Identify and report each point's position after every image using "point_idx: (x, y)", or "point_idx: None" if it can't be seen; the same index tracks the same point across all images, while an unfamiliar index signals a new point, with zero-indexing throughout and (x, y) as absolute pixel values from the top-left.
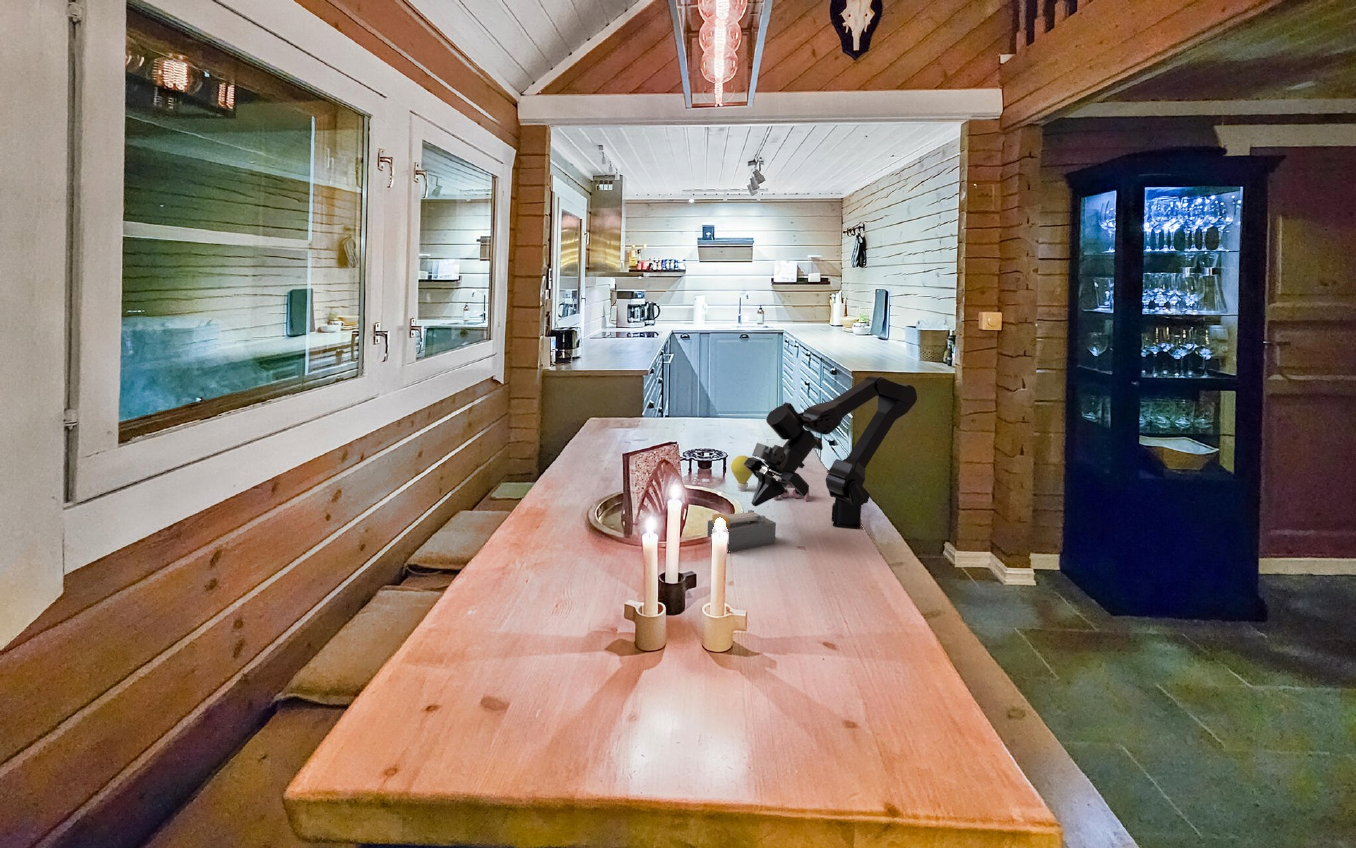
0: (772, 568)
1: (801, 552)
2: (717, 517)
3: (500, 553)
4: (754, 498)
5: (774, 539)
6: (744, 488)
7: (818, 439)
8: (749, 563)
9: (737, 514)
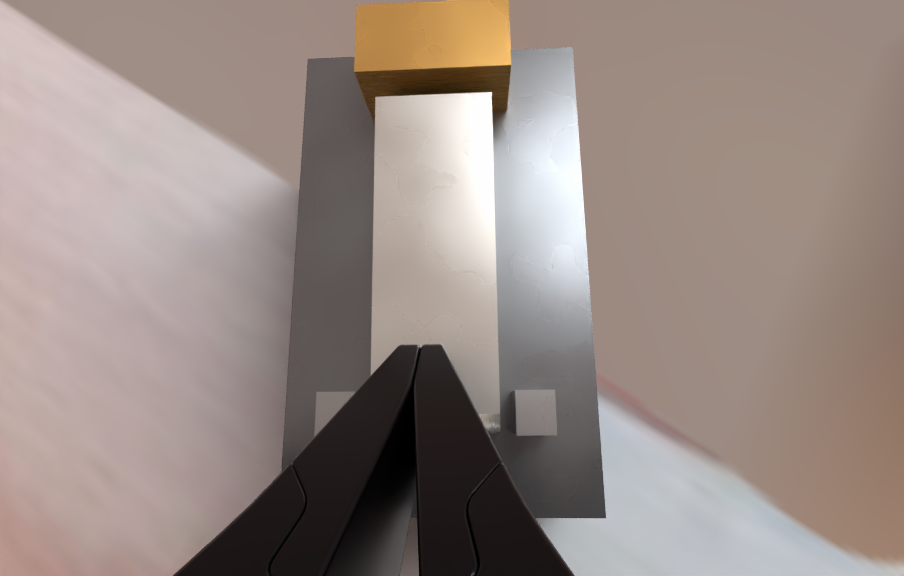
0: (53, 242)
1: (135, 550)
2: (427, 2)
3: None
4: (423, 376)
5: None
6: None
7: None
8: (170, 176)
9: (469, 218)
